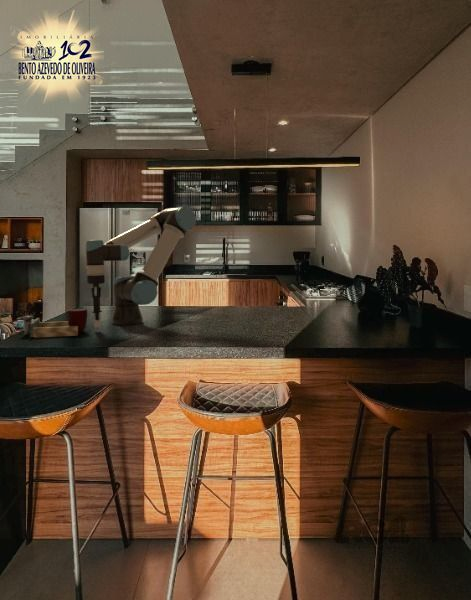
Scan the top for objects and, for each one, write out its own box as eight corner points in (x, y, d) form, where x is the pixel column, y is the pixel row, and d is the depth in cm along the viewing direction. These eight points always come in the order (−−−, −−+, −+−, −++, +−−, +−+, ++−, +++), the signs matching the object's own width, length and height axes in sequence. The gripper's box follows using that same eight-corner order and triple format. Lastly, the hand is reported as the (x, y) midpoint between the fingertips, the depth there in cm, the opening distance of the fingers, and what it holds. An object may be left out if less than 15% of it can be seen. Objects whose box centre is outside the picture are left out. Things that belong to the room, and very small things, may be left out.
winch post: (34, 333, 219) (33, 315, 218) (33, 335, 215) (32, 317, 214) (24, 333, 218) (23, 316, 217) (22, 335, 214) (21, 317, 213)
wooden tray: (81, 329, 229) (80, 316, 228) (77, 335, 213) (77, 321, 212) (37, 331, 225) (36, 318, 224) (30, 337, 209) (29, 323, 208)
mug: (80, 334, 215) (79, 312, 214) (62, 334, 216) (61, 311, 215) (91, 330, 225) (90, 308, 224) (74, 330, 227) (73, 308, 226)
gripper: (88, 274, 225) (90, 325, 228) (85, 275, 213) (87, 329, 215) (105, 273, 227) (106, 324, 230) (103, 275, 214) (105, 328, 217)
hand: (97, 326), depth 222 cm, fingers closed
